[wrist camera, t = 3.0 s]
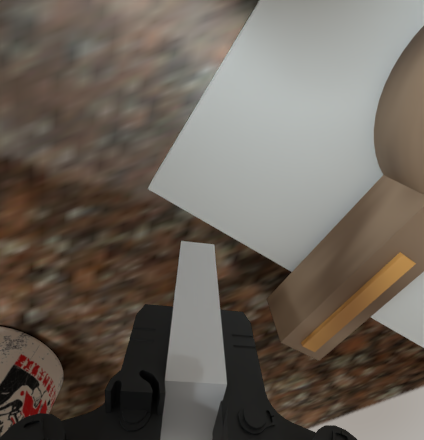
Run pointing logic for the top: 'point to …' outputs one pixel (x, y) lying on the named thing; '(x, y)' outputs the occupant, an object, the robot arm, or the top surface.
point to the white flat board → (295, 131)
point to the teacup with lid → (26, 377)
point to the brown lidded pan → (366, 229)
